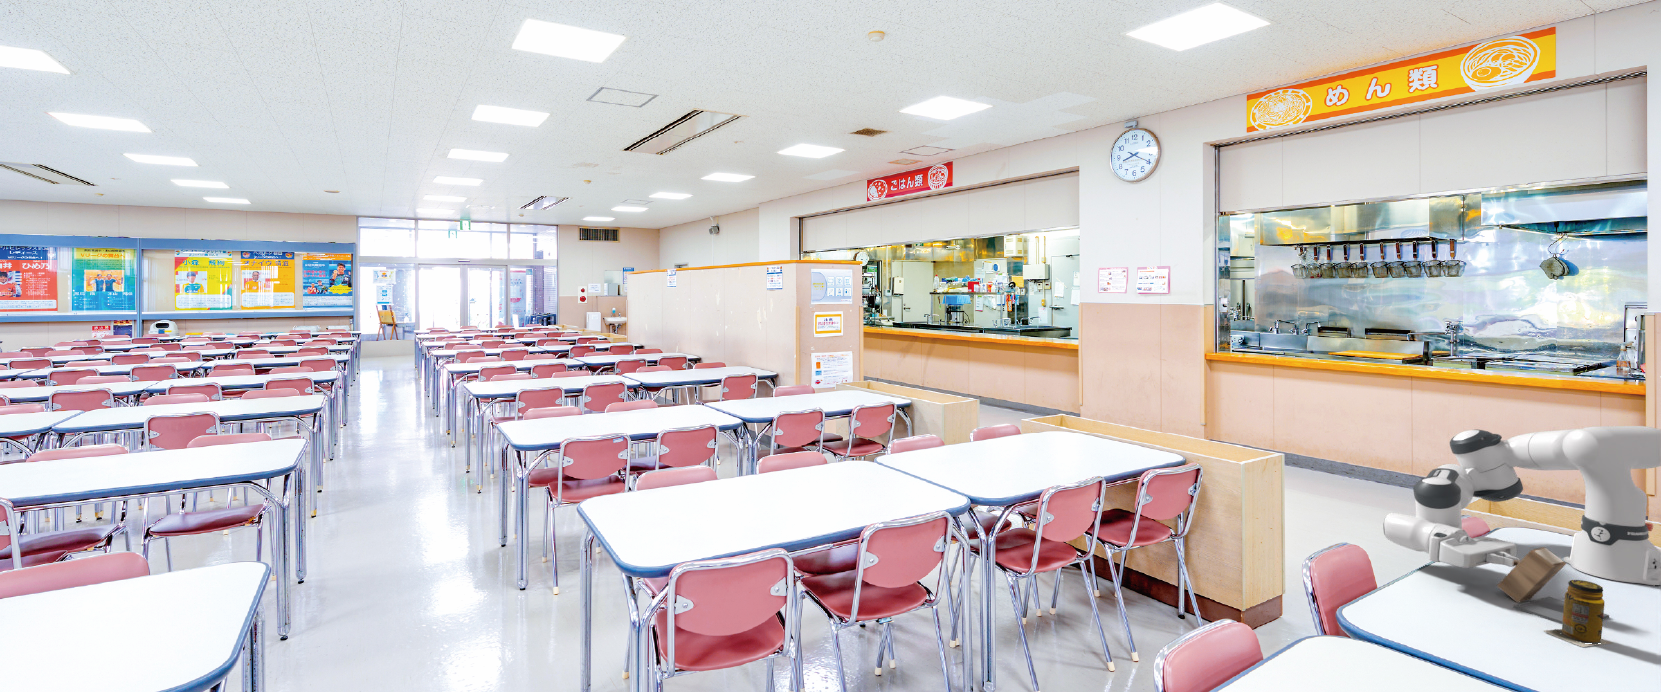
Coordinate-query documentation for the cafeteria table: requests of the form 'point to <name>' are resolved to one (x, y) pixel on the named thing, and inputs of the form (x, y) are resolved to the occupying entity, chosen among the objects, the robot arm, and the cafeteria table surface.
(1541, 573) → the block
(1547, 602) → the mat
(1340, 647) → the cafeteria table surface
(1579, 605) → the condiment
